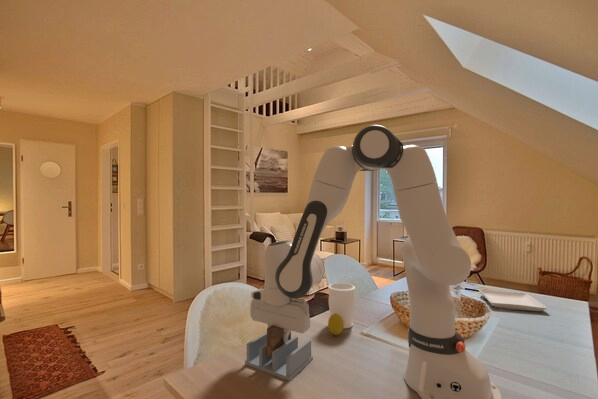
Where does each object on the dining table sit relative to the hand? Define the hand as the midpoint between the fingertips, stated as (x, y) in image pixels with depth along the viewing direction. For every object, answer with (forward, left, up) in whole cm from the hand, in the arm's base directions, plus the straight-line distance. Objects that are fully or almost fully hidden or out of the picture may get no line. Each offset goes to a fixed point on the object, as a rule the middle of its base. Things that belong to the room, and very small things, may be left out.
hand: (279, 340), depth 91 cm
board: (0, 0, -3) cm, 3 cm away
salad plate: (-62, -97, -7) cm, 115 cm away
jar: (-5, -35, -7) cm, 36 cm away
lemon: (-7, -25, -7) cm, 27 cm away
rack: (0, 0, -7) cm, 7 cm away
